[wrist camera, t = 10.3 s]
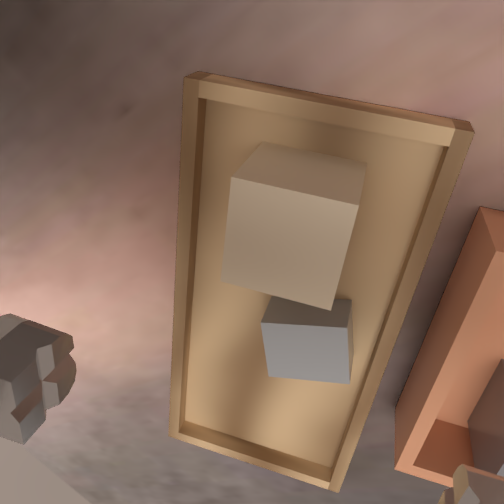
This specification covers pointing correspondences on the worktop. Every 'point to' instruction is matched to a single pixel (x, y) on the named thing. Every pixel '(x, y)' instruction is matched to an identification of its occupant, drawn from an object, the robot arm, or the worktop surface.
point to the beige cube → (291, 223)
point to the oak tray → (255, 303)
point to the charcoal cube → (489, 425)
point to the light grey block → (308, 340)
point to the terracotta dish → (455, 359)
